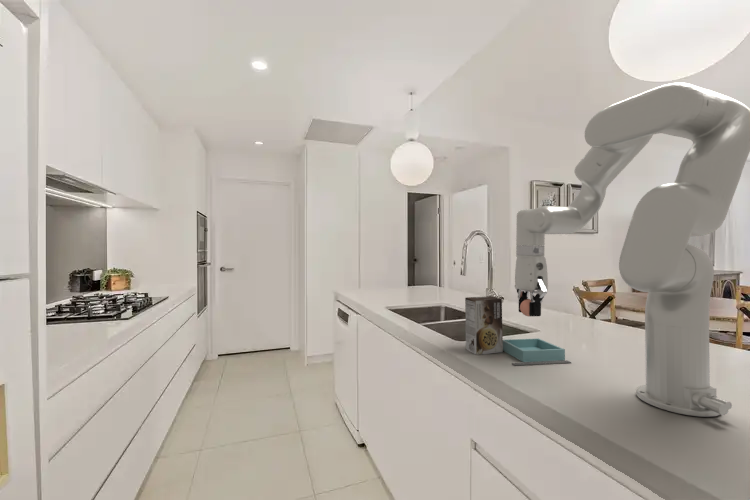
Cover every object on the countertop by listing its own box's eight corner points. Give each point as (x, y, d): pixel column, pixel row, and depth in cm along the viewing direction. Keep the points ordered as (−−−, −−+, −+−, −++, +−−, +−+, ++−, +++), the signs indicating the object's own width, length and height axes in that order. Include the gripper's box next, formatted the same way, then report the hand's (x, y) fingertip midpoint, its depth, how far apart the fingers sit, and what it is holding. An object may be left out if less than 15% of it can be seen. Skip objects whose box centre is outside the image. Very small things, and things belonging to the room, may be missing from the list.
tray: (564, 360, 94) (564, 349, 94) (523, 362, 93) (523, 351, 93) (538, 348, 106) (538, 338, 106) (501, 349, 105) (501, 339, 105)
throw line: (571, 363, 91) (571, 362, 91) (514, 366, 90) (514, 364, 90) (567, 361, 93) (567, 360, 93) (511, 364, 91) (511, 363, 91)
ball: (542, 318, 98) (542, 300, 98) (525, 318, 97) (526, 300, 97) (532, 314, 103) (532, 297, 103) (516, 314, 102) (516, 298, 102)
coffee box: (490, 347, 108) (490, 295, 108) (503, 352, 102) (503, 298, 102) (464, 349, 105) (464, 296, 106) (476, 355, 99) (475, 299, 99)
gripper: (561, 252, 92) (560, 320, 92) (525, 251, 109) (525, 308, 109) (535, 252, 91) (534, 320, 91) (503, 251, 108) (503, 308, 108)
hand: (529, 313), depth 100 cm, fingers closed on ball, 4 cm apart
